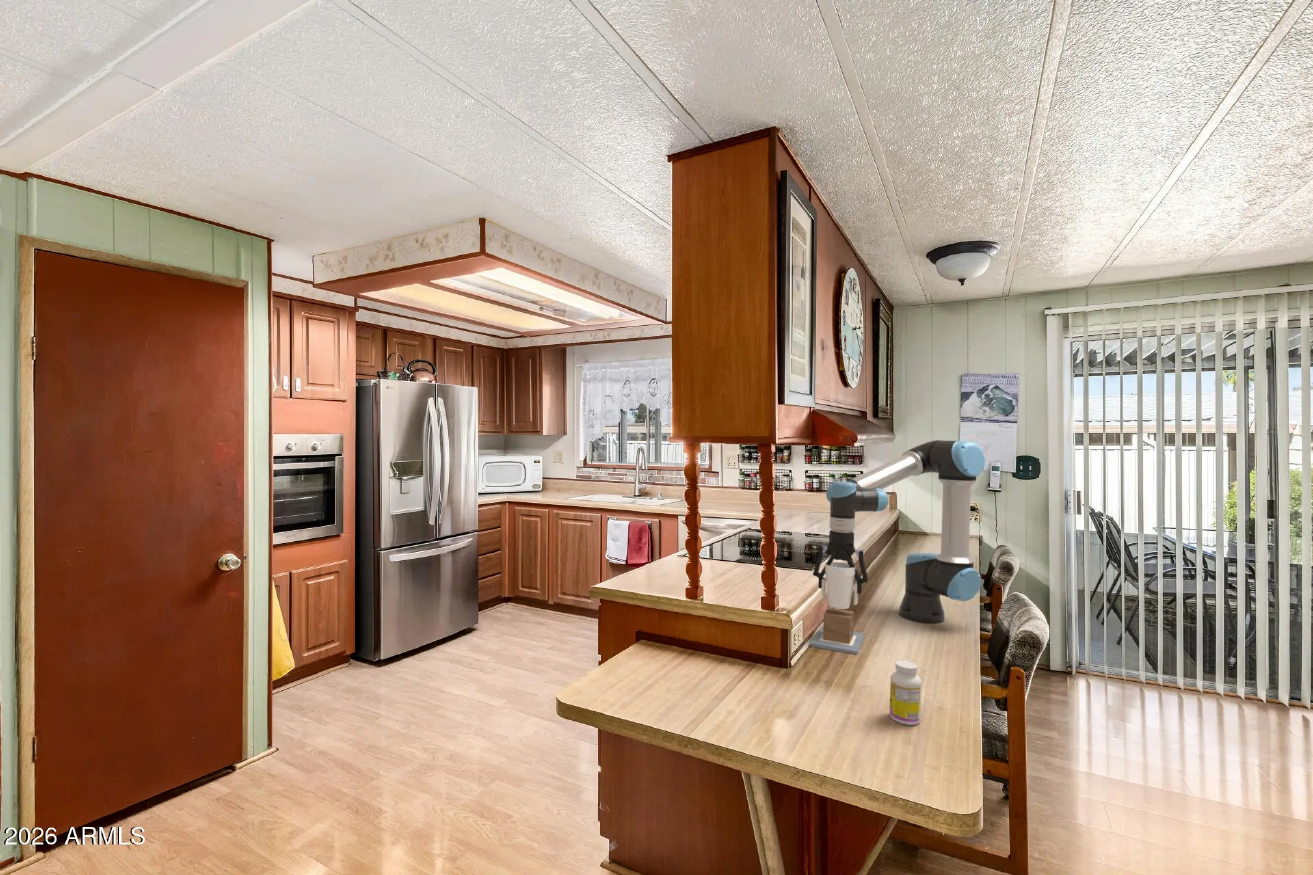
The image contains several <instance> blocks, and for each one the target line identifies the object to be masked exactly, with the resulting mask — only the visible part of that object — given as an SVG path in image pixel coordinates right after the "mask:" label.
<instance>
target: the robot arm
mask: <svg viewBox="0 0 1313 875" xmlns="http://www.w3.org/2000/svg"><path fill="white" fill-rule="evenodd" d="M985 466H986V458H985V455H984V452H983V450H982V449H981V447H980V446H979V445H978V444H976V443H974V442H972V441H966V440H942V439H941V440H939V439H937V440H932V441H931V440H930V441H927V442H925V443H921V444H919V445H916V446H914V447H911V448H910V449H908V450H905V451H904V452H903V453H902V455H901V456H899V457H897V458H895V459H893V460H890V461H888V462H886V463H885V464H882V465H879V466H878V467H875V468H873V469H871V470H869V471H867V472H865V473H863V474H860V475H858V476H856V477H854V478H852V479H849V480H847V481H833V482H832V483H831V484H830V485H829V486H828V487H827V488H826V492H825V493H826V494H825V495H826V499H827V501H828V502H829V503H830V505H829V506H830V507H829V508H830V510H829V514H830V515H829V529H830V530H829V533H828V534H829V535H828V545H823V544H821V545H819V546H818V555H817V559H816V562H815V566H814V568H813V572H812V575H813V576H814V577H816V578H818V585H817V586H818V589H821V594H822V598H821V597H820V599H821V601H823V600H826V591H827V582H826V577H824V576H826V572H825V565H824V566H823V568H822V569H821V572H819V571H820V568H821V564H822V560H823V558H824V554H825V553H826V552H827V551H828V552H829V554H830V556H829V558H828V560H827V561H826V564H828V565H829V566H830V565H831V563H832V562H834V561H843V562H844V561H845V562H846V563H848V564H849V566H850V568H854V567H855V566H856V565H855V562H854V559H853V558H852V556H853V555H854V554H856V557H857V558H858V563H859V567H860V572H861V575H860V573H859V570H858V569H857V567H856V569H855V575H854V577H855V579H854V580H855V581H854V587H853V590H854V592H853V593H854V594H853V605H855V606H857V605H858V602H859V600H858V599H859V596H858V595H861V593H862V591H863V590H862V589H863V588H862V587H863V584H867V583H868V581H869V577H868V572H867V567H866V563H865V558H864V557H865V556H864V555H865V550H864V549H857V548H855V532H854V530H855V522H856V519H855V518H856V512H874V513H876V512H882V511H884V510H886V509H887V507H888V505H889V496H888V494H887V492H886V490H884V489H886V488H888V487H890V486H892V485H894V484H897V483H899V482H901V481H903V480H905V479H907V478H909V477H912V476H913V477H917V476H920V475H923V474H928V473H929V474H931V473H933V474H934V473H937V474H938V476H937V477H938V480H939V482H940V483H942V503H941V504H942V505H941V506H942V509H941V536H940V537H941V538H940V540H941V541H940V543H941V544H940V553H929V552H928V553H925V552H923V553H922V552H921V553H919V552H918V553H915V552H914V553H909V554H908V555H907V557H906V560H905V561H906V562H905V580H904V581H905V584H904V585H905V587H904V589H905V590H904V592H905V593H904V595H903V598H902V600H901V603H900V606H899V611H898V614H899V615H900V616H901V617H902V618H904V619H907V620H910V621H914V622H921V623H928V624H930V623H931V624H935V623H936V624H937V623H938V624H939V623H942V622H945V619H946V618H945V611H944V608H943V607H944V606H943V605H942V604H943V603H942V601H941V596H943V597H946V598H949V599H950V600H953V601H955V600H956V601H958V602H967V601H970V600H972V599H973V598H975V596H976V595H977V594H978V593H979V591H980V589H981V585H982V576H981V574H980V573H979V571H978V570H976V569H975V568H974V564H975V562H974V559H972V558H971V556H970V554H969V553H970V527H971V525H970V524H971V522H970V520H971V496H972V494H971V492H972V489H971V487H972V486H973V484H975V483H976V482H977V477H978V476H980V475H981V474H982V473H983V470H984V469H985Z"/></svg>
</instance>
